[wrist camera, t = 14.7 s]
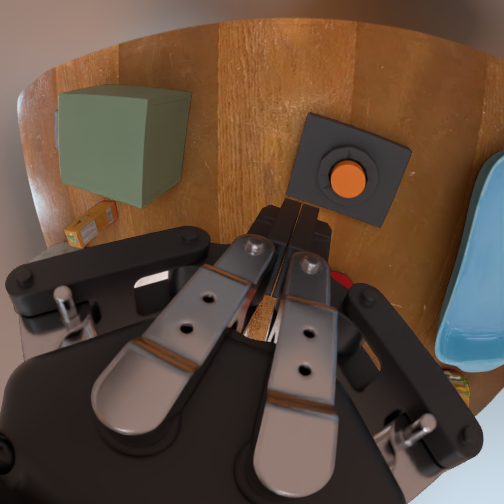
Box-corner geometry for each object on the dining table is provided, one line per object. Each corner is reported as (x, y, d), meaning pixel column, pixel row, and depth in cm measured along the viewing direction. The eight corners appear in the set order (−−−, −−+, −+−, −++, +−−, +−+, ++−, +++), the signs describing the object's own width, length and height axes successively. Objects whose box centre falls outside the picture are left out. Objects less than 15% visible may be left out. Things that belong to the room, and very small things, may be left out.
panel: (289, 188, 37) (282, 200, 33) (309, 112, 31) (305, 115, 28) (379, 220, 35) (382, 235, 32) (408, 147, 29) (415, 155, 26)
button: (327, 185, 31) (326, 191, 30) (337, 155, 29) (336, 159, 28) (358, 196, 31) (358, 202, 30) (369, 167, 29) (370, 171, 27)
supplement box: (106, 217, 48) (68, 246, 40) (102, 200, 47) (62, 227, 38) (119, 219, 48) (81, 249, 40) (116, 201, 46) (75, 229, 38)
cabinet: (104, 160, 42) (61, 182, 34) (107, 84, 35) (58, 93, 27) (180, 180, 40) (141, 209, 33) (192, 92, 33) (147, 99, 25)
